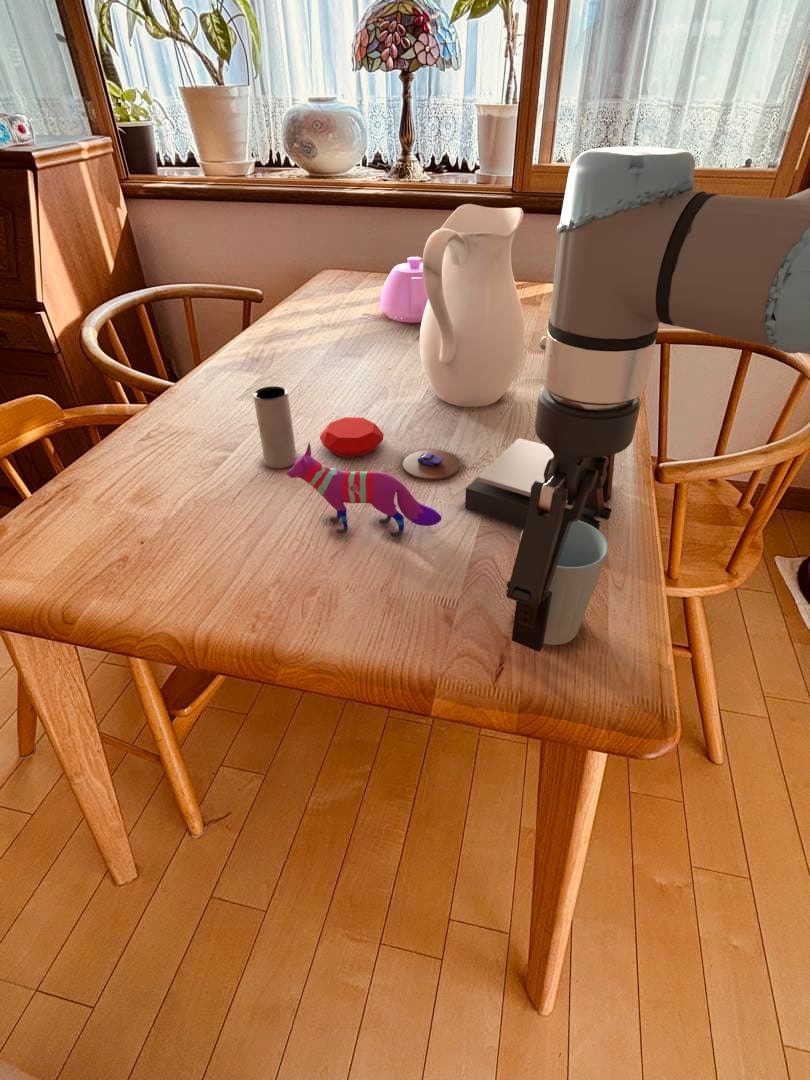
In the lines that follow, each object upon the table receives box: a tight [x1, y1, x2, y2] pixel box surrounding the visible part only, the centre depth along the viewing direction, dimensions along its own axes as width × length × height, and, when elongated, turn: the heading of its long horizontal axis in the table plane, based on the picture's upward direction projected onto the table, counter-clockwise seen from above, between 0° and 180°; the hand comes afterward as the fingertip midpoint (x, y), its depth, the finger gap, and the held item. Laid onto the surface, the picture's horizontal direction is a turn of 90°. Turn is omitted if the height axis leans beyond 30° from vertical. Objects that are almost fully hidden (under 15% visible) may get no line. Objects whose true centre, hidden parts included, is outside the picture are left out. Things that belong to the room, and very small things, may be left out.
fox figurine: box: [285, 442, 443, 538], centre depth 72 cm, size 4×18×10 cm, turn 85°
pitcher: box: [419, 203, 526, 408], centre depth 96 cm, size 24×17×28 cm
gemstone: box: [319, 416, 385, 458], centre depth 91 cm, size 9×9×3 cm
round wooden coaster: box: [402, 449, 462, 482], centre depth 87 cm, size 8×8×2 cm
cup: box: [519, 520, 610, 646], centre depth 58 cm, size 8×8×10 cm
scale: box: [464, 437, 615, 528], centre depth 79 cm, size 14×14×4 cm
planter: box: [252, 385, 298, 469], centre depth 86 cm, size 4×4×10 cm
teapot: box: [379, 256, 428, 324], centre depth 140 cm, size 22×16×12 cm
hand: (552, 605), depth 60 cm, fingers open, 11 cm apart
